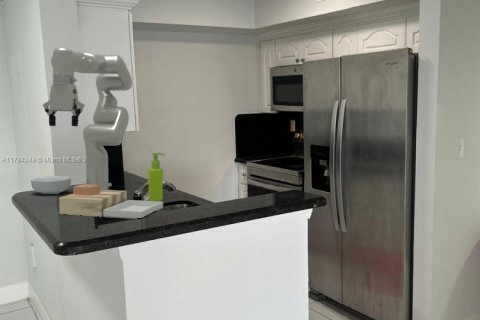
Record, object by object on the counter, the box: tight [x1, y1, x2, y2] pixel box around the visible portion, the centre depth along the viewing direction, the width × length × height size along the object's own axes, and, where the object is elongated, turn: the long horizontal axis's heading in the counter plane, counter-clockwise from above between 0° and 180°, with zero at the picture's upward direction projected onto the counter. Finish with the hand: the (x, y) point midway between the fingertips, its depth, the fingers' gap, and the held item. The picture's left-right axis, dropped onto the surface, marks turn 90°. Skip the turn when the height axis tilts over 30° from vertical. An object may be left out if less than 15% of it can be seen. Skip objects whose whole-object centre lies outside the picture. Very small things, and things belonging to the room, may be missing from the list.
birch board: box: [58, 189, 128, 218], centre depth 167 cm, size 20×16×6 cm
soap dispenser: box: [148, 152, 166, 202], centre depth 189 cm, size 6×7×20 cm
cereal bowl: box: [30, 175, 72, 195], centre depth 203 cm, size 17×17×7 cm
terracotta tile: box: [72, 183, 101, 196], centre depth 167 cm, size 7×7×3 cm
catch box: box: [102, 199, 164, 220], centre depth 164 cm, size 20×14×2 cm
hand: (63, 126), depth 173 cm, fingers open, 9 cm apart
